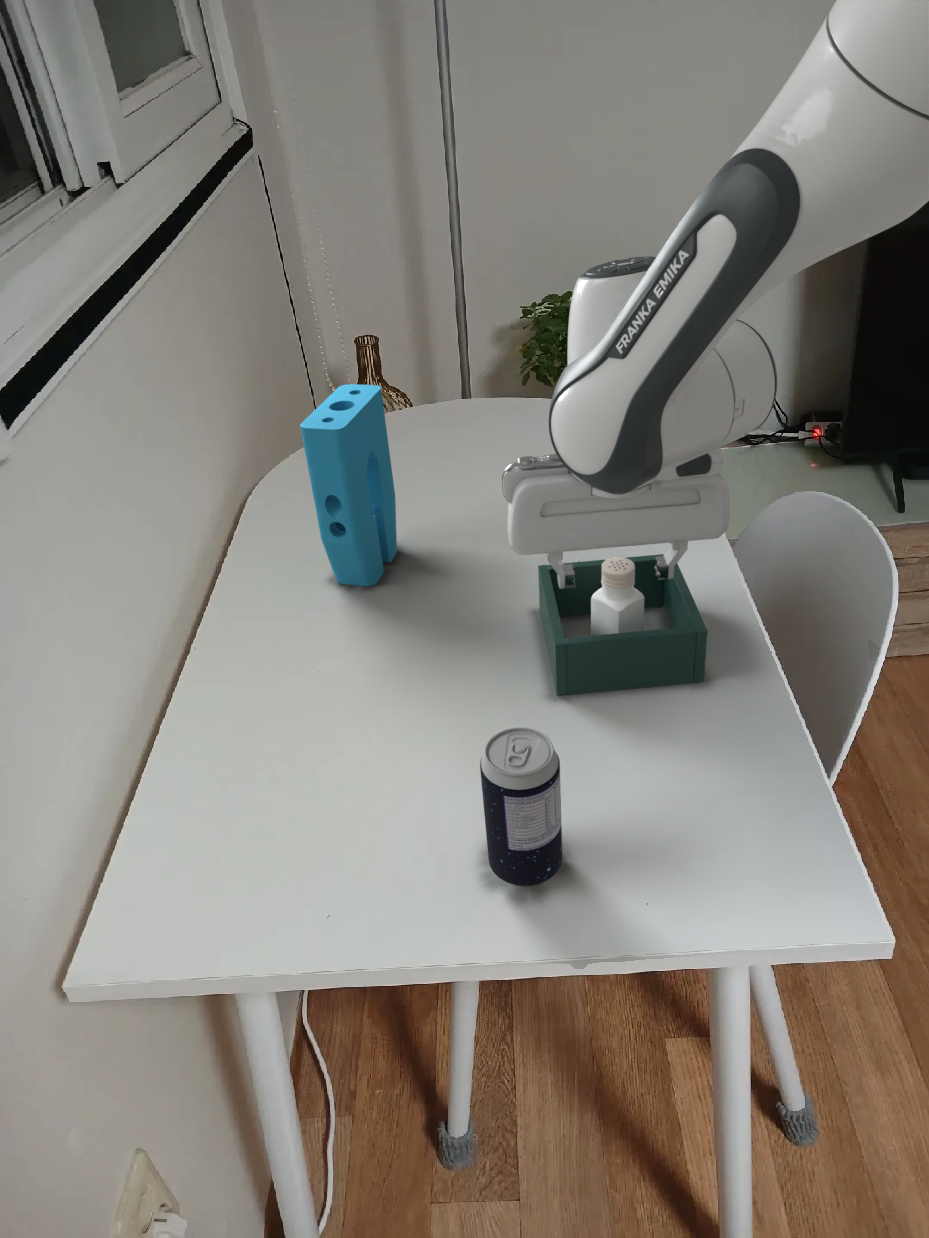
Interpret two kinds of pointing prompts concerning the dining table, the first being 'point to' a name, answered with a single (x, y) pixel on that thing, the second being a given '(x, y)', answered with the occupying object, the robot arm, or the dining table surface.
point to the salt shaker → (617, 600)
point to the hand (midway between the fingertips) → (614, 580)
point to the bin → (628, 653)
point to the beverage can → (522, 806)
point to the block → (352, 482)
